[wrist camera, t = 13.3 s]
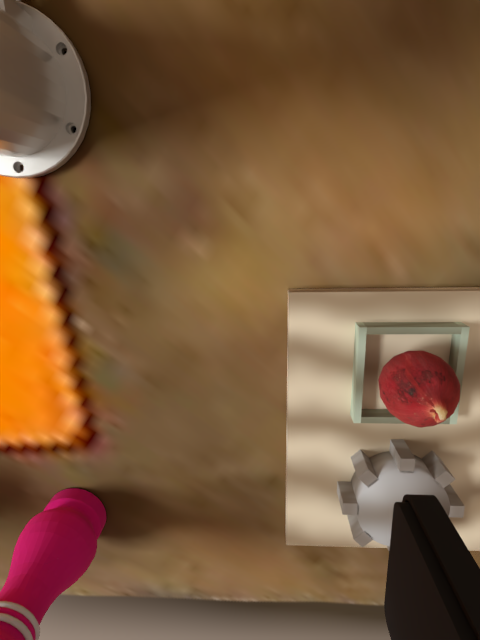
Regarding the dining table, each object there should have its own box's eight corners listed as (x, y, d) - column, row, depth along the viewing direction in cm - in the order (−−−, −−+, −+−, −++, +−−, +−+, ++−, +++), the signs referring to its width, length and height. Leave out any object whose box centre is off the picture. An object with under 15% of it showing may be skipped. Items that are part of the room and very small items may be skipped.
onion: (354, 373, 36) (379, 419, 28) (401, 324, 34) (440, 358, 27) (403, 411, 36) (440, 466, 29) (451, 365, 35) (503, 409, 27)
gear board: (287, 288, 36) (291, 300, 31) (525, 286, 34) (563, 298, 30) (285, 533, 42) (287, 570, 38) (483, 539, 41) (508, 577, 37)
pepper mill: (125, 520, 43) (13, 771, 24) (75, 550, 45) (-67, 808, 25) (80, 471, 42) (-75, 694, 23) (31, 503, 43) (-155, 739, 24)
